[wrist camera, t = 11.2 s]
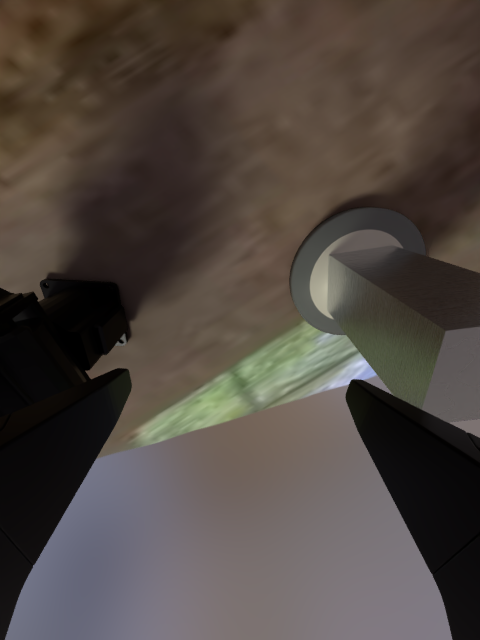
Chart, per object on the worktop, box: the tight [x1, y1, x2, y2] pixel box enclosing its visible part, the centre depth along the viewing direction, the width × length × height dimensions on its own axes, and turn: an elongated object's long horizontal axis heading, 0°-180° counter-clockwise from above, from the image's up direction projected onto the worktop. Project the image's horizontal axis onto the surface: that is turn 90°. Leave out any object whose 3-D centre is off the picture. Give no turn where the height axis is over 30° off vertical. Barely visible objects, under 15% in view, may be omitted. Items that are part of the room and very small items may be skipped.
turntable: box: [289, 207, 426, 335], centre depth 20 cm, size 11×11×1 cm
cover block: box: [327, 245, 480, 422], centre depth 15 cm, size 5×5×12 cm
